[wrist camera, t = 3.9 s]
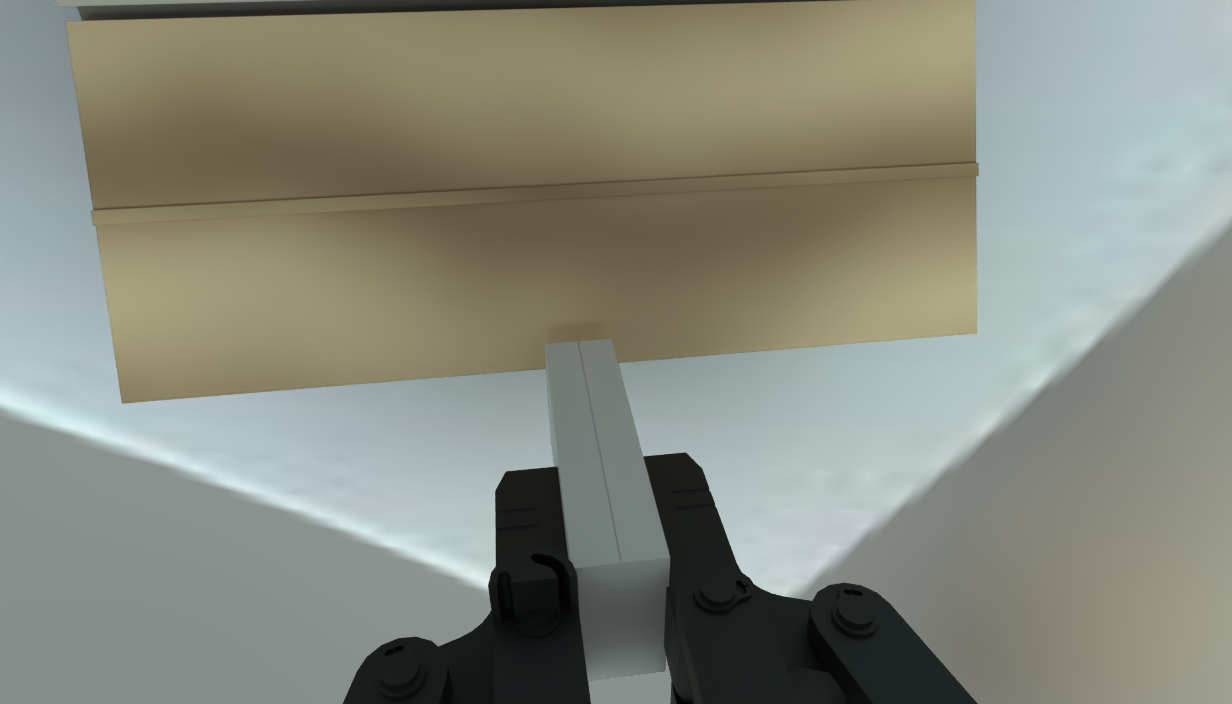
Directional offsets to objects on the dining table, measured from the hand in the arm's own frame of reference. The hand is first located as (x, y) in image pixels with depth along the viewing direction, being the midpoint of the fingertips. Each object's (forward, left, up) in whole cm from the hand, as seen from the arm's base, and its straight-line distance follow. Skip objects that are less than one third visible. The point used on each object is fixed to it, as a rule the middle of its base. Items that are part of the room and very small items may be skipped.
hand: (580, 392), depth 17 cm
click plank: (-4, 0, -3) cm, 5 cm away
